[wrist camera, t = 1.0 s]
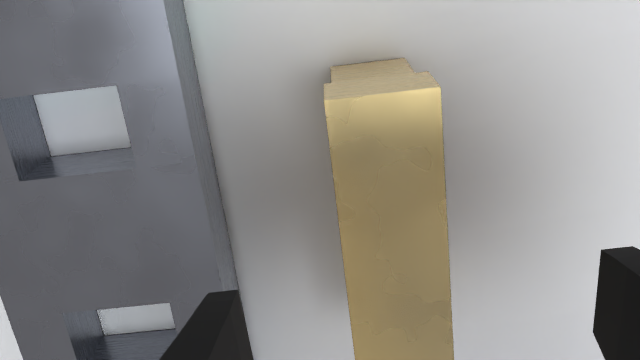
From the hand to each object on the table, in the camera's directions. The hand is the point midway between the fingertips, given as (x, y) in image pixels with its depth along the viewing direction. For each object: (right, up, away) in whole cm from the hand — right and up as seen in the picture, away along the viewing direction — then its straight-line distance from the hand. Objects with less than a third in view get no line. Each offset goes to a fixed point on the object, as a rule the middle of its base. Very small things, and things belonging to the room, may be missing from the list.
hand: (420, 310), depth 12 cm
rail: (-10, +1, +11) cm, 15 cm away
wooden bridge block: (0, +2, +11) cm, 11 cm away
